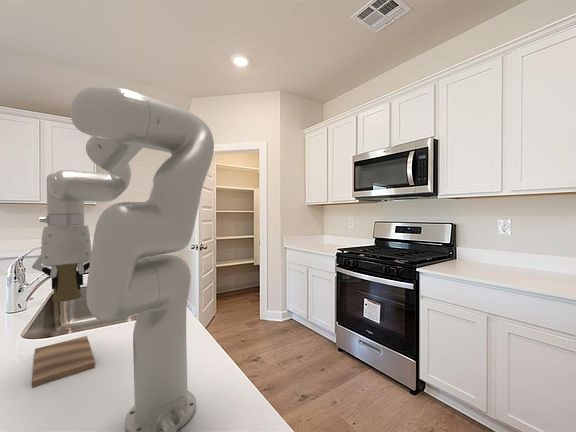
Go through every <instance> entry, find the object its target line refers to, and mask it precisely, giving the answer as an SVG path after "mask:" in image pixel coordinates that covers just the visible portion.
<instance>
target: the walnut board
mask: <svg viewBox="0 0 576 432" xmlns="http://www.w3.org/2000/svg"><path fill="white" fill-rule="evenodd" d="M95 368H96V361H95V358H94V354H93V351H92V348H91V344H90V341H89V338H88V335H84V336H80V337H76V338H72V339H69V340H65V341H60V342H56V343H53V344H49V345H45V346H41V347H37V348H34V356H33V366H32V374H31V375H32V376H31V388H32V389H33V388H36V387H39V386H42V385H45V384H49V383H51V382H55V381H57V380H61V379H64V378H67V377H70V376H73V375H76V374H79V373H84V372H85V371H88V370H92V369H95Z"/></svg>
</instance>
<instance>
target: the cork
mask: <svg viewBox="0 0 576 432" xmlns="http://www.w3.org/2000/svg"><path fill="white" fill-rule="evenodd" d="M56 268H57V277H58V287H57V292H56V287H55V289H53V292H52V300H51V301H52V302H56V303H57V302H58V303H60V302H68V301H73V300H77V299H80V298H81V297H82V291H81V288H80V289H78V285H77V271H78V268H77V264H67V265H62V266H56Z"/></svg>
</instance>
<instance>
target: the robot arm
mask: <svg viewBox="0 0 576 432" xmlns="http://www.w3.org/2000/svg"><path fill="white" fill-rule="evenodd" d="M70 118H71V122H72V123H73V125H74V127H75V129H77V130H78V131H79V132H81V133H83V134H86V135H88V136H90V138H88V140H87V141H86V143H85V153H86V155H87V156H88V158H89V159H90V160H91V161H92V162H93V163H94V164H95V165H96V166H97V167H99V168H100V169H102V170H103V171H106V172H108V173H105V172H104V173H102V172H96V171H95V172H93V171H92V172H91V171H84V170H83V171H80V170H73V169H72V170H71V169H62V170H58V171H56V172H53V173H50V174H48V175H47V177H46V183H45V184H46V209H47V210H46V211H47V212H46V213H47V215H45V216H39V223H44V224H47V226H43V229H42V234H41V242H40V247H41V248H40V254H39V256H38V257H37V259H36V260H35V261H34V263H33V264H32V266H31V268H32V269H33V270H36V271H39V272H42V273H44V274H45V275H47V276H48V277H50V278H51V290H53V291H54V289H55V287H56V292H57V287H58V277H57V268H56V266H62V265H67V264H77V268H76V269H77V285H78V289H80V290H81V286H83V285H84V274H85V272H86V271H87V270H88V274H87V281H86V282H87V283H86V304H87V307H88V310H89V312H90V314H91V315H92V316H93V318H95V319H97V320H98V321H101V322H114V321H117V320H122V319H125V318H128V317H130V316H134V315H136V314H137V317H136V320H135V323H134V326H133V332H132V350H133V351H132V355H133V390H134V392H133V393H134V395H133V397H134V405H133V406H132V407H131V408H130V409H129V411H128V412H127V414H126V417H125V430H126V432H177V431H178V430H179V429H181V428H182V427H184V426H185V425H186V423H188V422H189V421H190V419H191V418H192V417H193V415H194V414H195V411H196V407H197V404H196V403H197V401H196V400H197V399H196V397H195V395H194V394H193V392H191V391H190V390H188V363H187V362H188V360H187V359H188V357H187V356H188V355H187V354H188V353H187V351H188V349H187V307H188V299H189V294H190V288H191V281H192V280H191V279H192V278H191V277H192V275H191V270H190V267H189V265H188V263H187V262H186V261H185V260H184V259H183V257H180V256H179V255H175V254H170V253H175V252H180V251H181V250H184V249H186V248H187V246H188V245H189V243H190V242H191V240H192V238H193V233H194V230H195V229H194V228H195V224H196V219H197V215H198V210H199V206H200V201H201V196H202V195H201V194H202V190H203V186H204V183H205V180H206V177H207V175H208V172H209V170H210V167H211V164H212V161H213V157H214V152H215V151H214V150H215V143H214V137H213V133H212V131H211V129H210V127H209V126H208V124H207V123H206V122H205V121H204V120H203V119H201V118H200V117H199V116H197V115H196V114H194V113H191V112H190V111H187V110H185V109H183V108H180V107H179V106H175V105H173V104H170V103H167V102H164V101H162V100H158V99H155V98H152V97H150V96H147V95H145V94H142V93H139V92H136V91H133V90H131V89H127V88H122V87H107V86H97V85H96V86H93V85H92V86H87V87H85V88H83V89H82V90H80V91H79V92H78V93H76V95H75V97H74V98H73V100H72V102H71V105H70ZM143 148H144V149H149V150H154V151H158V152H159V151H160V152H165V153H169V154H170V155H171V156H169V157H168V158H167V159H166V160H165V161H164V162H163V163H162V164H161V165H160V167H159V168H158V169H157V170H156V172H155V173H154V176H153V178H152V182H151V190H150V194H149V197H148V199H147V200H146V201H125V202H124V201H123V202H117V203H114V204H111V205H110V206H108V207H107V208H105V209H104V210H103V211H102V212H101V214H100V216H99V217H98V220H97V222H96V224H95V229H94V232H93V241H91V235H90V234H91V233H90V230H89V226H88V225H85V209H84V208H85V205H84V204H85V203H84V202H92V203H93V202H94V203H96V202H97V203H106V202H112V201H114V200H116V199H118V198H119V197H120V196H121V195H122V194H124V192H125V191H126V190H127V189H128V188H129V185H130V182H131V178H132V170H131V167H130V164H129V163H130V162H131V161H132V160H133V159H134V157H136V156H137V154H138V153H139V152H141V150H142V149H143Z"/></svg>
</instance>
